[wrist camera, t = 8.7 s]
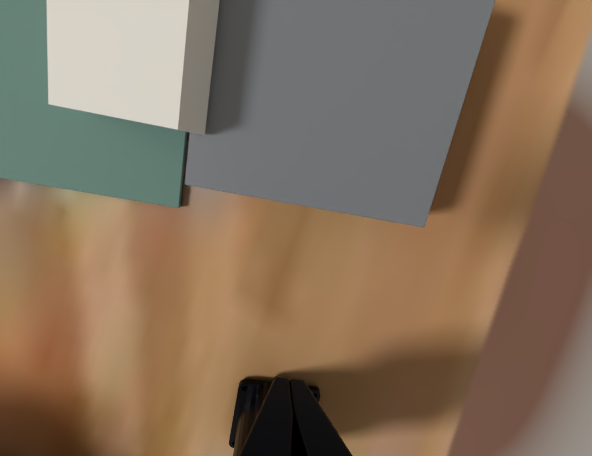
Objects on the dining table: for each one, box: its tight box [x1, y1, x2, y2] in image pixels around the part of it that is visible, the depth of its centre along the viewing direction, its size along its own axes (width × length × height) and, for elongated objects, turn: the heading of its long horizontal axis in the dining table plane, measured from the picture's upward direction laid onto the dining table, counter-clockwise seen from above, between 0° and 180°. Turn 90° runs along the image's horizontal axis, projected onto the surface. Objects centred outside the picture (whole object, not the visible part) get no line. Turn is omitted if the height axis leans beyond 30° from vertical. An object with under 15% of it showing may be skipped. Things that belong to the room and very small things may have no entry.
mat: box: [0, 0, 187, 208], centre depth 16 cm, size 16×14×1 cm
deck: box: [185, 0, 495, 227], centre depth 16 cm, size 12×14×3 cm
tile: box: [46, 0, 219, 135], centre depth 14 cm, size 7×8×2 cm
